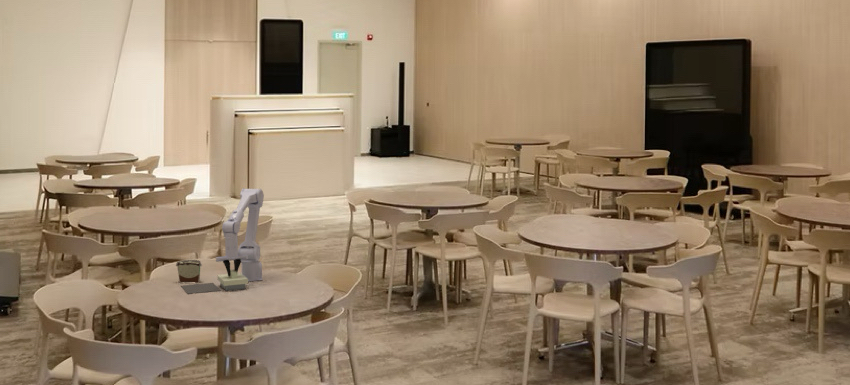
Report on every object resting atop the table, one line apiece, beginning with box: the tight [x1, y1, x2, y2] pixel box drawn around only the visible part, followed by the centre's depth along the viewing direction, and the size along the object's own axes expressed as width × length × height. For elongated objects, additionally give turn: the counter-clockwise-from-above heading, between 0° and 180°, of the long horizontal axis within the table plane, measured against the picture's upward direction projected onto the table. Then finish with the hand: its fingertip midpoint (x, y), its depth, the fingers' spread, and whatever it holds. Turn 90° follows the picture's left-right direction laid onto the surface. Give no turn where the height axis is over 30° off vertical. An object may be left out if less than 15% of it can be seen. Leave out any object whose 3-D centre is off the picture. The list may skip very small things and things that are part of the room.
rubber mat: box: [180, 282, 222, 295], centre depth 430 cm, size 15×18×1 cm
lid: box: [216, 268, 249, 286], centre depth 432 cm, size 11×15×5 cm
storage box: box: [219, 282, 246, 292], centre depth 432 cm, size 9×13×4 cm
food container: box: [175, 259, 203, 284], centre depth 446 cm, size 12×6×10 cm, turn 84°
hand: (232, 275), depth 432 cm, fingers closed on lid, 2 cm apart
